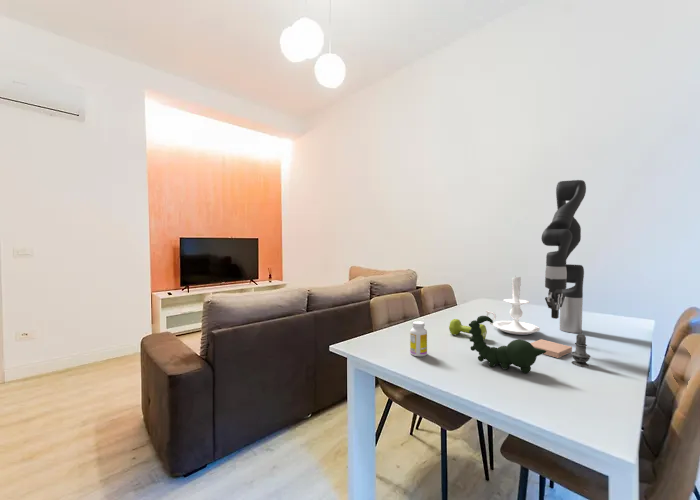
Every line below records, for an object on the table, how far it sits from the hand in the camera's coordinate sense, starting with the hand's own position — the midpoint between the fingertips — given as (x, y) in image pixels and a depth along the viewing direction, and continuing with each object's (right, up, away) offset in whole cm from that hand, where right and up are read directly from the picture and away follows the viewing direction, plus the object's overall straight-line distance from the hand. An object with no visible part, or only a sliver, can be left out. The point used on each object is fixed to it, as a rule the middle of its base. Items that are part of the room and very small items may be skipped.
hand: (554, 318), depth 135 cm
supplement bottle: (-58, -14, -5) cm, 60 cm away
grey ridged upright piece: (-1, -14, -16) cm, 21 cm away
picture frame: (+1, -12, +1) cm, 12 cm away
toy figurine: (-30, -14, -19) cm, 38 cm away
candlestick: (-6, -12, +26) cm, 29 cm away
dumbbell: (-30, -13, +17) cm, 37 cm away
